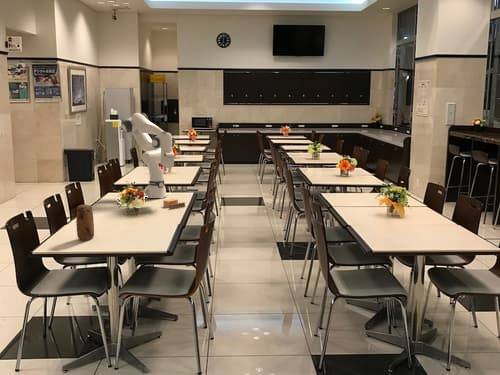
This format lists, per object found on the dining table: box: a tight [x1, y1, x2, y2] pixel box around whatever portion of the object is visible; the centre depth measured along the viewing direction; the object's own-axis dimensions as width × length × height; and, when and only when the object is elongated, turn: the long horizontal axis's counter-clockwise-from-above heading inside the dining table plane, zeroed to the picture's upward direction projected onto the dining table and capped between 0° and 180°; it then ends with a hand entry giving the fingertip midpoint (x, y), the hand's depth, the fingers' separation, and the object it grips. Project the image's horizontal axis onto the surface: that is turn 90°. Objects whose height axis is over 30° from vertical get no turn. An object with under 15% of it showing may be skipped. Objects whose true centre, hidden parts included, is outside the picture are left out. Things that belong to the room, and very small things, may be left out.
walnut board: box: [168, 202, 186, 210], centre depth 385 cm, size 2×13×3 cm, turn 135°
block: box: [75, 204, 95, 242], centre depth 300 cm, size 11×8×20 cm
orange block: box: [162, 198, 179, 209], centre depth 391 cm, size 6×9×5 cm, turn 137°
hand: (167, 171), depth 394 cm, fingers open, 8 cm apart
